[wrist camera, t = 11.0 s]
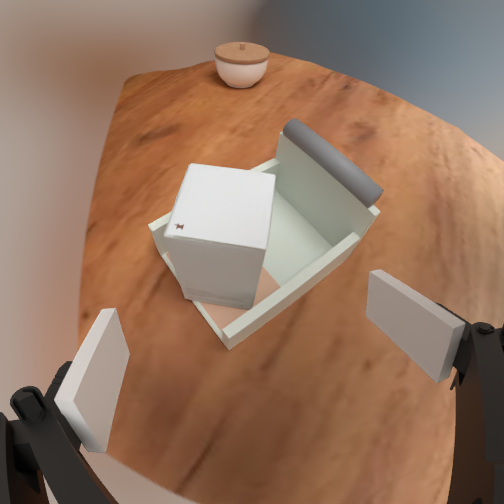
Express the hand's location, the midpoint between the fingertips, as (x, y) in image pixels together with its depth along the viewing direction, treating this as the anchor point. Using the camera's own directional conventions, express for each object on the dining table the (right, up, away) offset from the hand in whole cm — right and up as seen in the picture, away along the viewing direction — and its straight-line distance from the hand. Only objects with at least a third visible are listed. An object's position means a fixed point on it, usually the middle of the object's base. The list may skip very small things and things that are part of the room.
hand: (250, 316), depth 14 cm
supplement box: (-3, +1, +18) cm, 18 cm away
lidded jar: (-2, +38, +40) cm, 56 cm away
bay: (0, +3, +20) cm, 21 cm away
